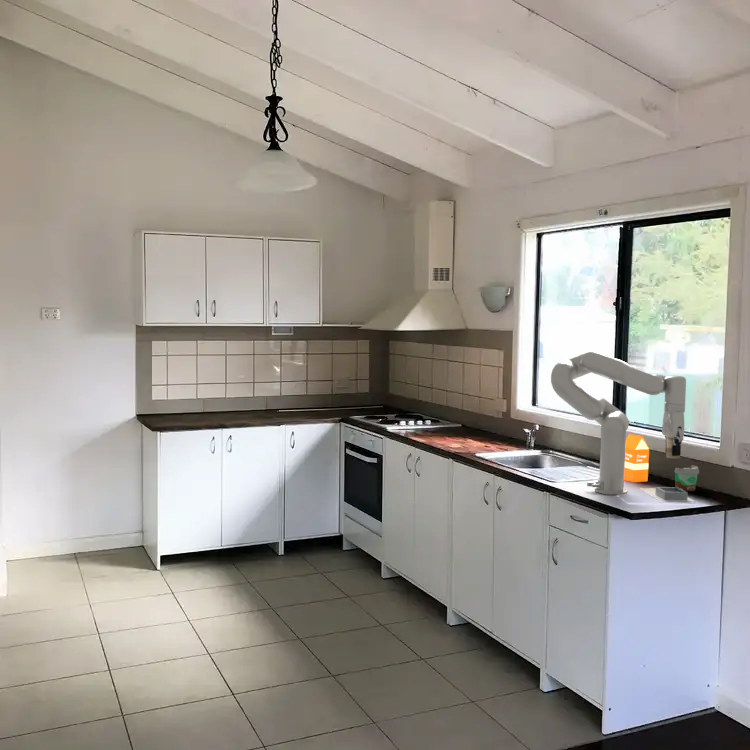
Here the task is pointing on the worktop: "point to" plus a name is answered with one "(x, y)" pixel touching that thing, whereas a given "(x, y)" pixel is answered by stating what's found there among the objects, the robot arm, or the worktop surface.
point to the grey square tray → (671, 493)
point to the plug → (670, 448)
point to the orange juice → (636, 459)
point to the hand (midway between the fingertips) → (672, 453)
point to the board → (652, 492)
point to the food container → (686, 478)
